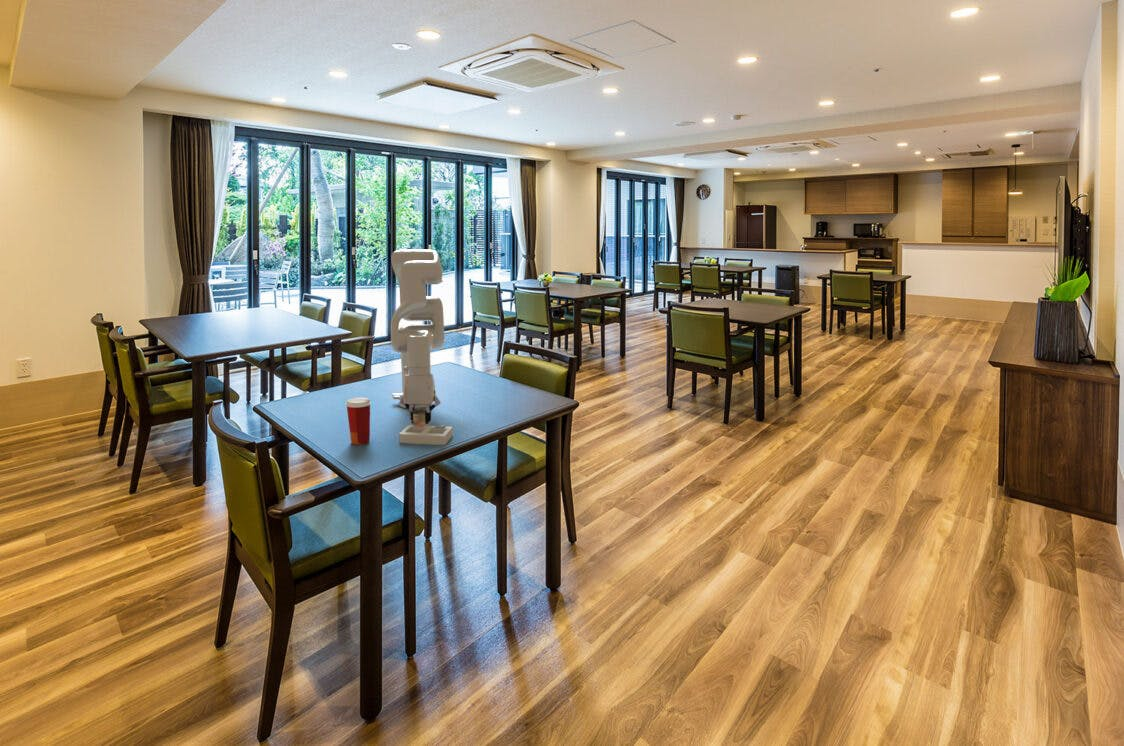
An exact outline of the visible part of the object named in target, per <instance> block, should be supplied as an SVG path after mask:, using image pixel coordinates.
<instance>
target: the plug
mask: <svg viewBox="0 0 1124 746" xmlns="http://www.w3.org/2000/svg"><path fill="white" fill-rule="evenodd" d="M425 413H426V407H423V408H415V410H413V423H412V425H416V424H418V425H425V426H430V424H429V423H428V424H425Z"/></svg>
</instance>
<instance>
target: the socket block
mask: <svg viewBox="0 0 1124 746" xmlns="http://www.w3.org/2000/svg"><path fill="white" fill-rule="evenodd" d="M453 436H454V427H453V426H446V425H439V424H438V425H429V426H425V425H418V424H416V425H413V424H408V425H407V426H406V427H405V428H404V429H403V430H402V431H400V432H399V433H398V443H399V444H410V445H411V444H414V445H415V444H416V445H434V446H445V445H446V444H448V442H449V441H450V439H451V438H452V437H453Z"/></svg>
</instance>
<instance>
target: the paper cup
mask: <svg viewBox="0 0 1124 746" xmlns="http://www.w3.org/2000/svg"><path fill="white" fill-rule="evenodd" d="M344 405H345V406H346V411H347V420H348V427H349V434H350V442H351V444H352V445H354V446H362V445H366V444H369V443H370V440H371V439H370V433H371V432H370V431H371V427H370V426H371V405H372V402H371V400H370V399H369V398H368V397H352V398H349V399H347V400H346V402H345V404H344Z"/></svg>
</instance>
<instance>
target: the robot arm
mask: <svg viewBox="0 0 1124 746" xmlns="http://www.w3.org/2000/svg"><path fill="white" fill-rule="evenodd" d="M390 258H391V259H390V261H391V266H392V269H393V273H394V275H395V278H396V279H397V282H398V287H399V303H400V304H399V306H398V307H397V308H396V310H395V311H394V313H393V315H392V317H391V319H390V342H391V343H390V344H391V347H392V350H393V351H394V352H396V353H399V354H400V360H401V361H400V364H401V365H400V366H401V367H400V368H401V385H402V386H401V387H402V388H401V389H402V390H401V391H402V392H401V393H392V399H393V400H399V401H398V406H399V407H401V408H403V409H407V410H408V412H409V413H410V416H409V417H410V421H411V424H413V410H415V409H416V408H426V413H425V424H429V423H431V421H432V411H433V410H434V409H435V408H436V407H438V406H439V405H441V401H440V399H439V398H438V396H437V395H436V394H437V391H436V385H435V378H434V375H433V373H432V371H431V350H435V349H436V350H437V349H442V347H443V346H444V344H445V319H444V305H443V302H442V300H441V298H440V297H439V296H436V295H435V296H434V295H432V296H431V295H430V296H429V295H428V296H427V286H426V285H440V284H441V282H442V280H443V267H442V263H441V257H440V255H439V252H437V251H436V250H435V249H411V248H410V249H405V248H404V249H397V250H395V251H393V252H392V253H391V257H390ZM402 319H403V320H404V321H408V322H430V323H431V324H406V325H403V326H401V327H400V328H399V326H400V322H401V320H402Z"/></svg>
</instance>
